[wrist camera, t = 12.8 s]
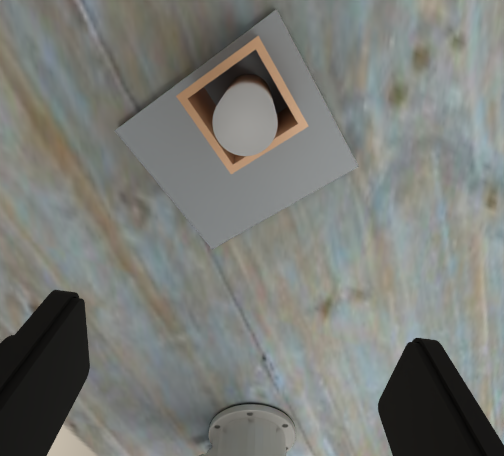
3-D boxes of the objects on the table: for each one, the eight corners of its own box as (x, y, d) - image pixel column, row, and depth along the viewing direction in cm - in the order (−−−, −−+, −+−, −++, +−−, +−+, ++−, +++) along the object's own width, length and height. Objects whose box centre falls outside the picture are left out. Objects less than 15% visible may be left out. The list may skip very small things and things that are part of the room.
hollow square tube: (297, 107, 28) (308, 126, 22) (236, 147, 30) (231, 174, 24) (258, 37, 26) (258, 35, 20) (194, 83, 27) (175, 96, 21)
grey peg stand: (213, 243, 36) (196, 319, 26) (119, 127, 30) (52, 169, 20) (355, 162, 31) (400, 217, 22) (275, 10, 26) (287, -9, 16)
